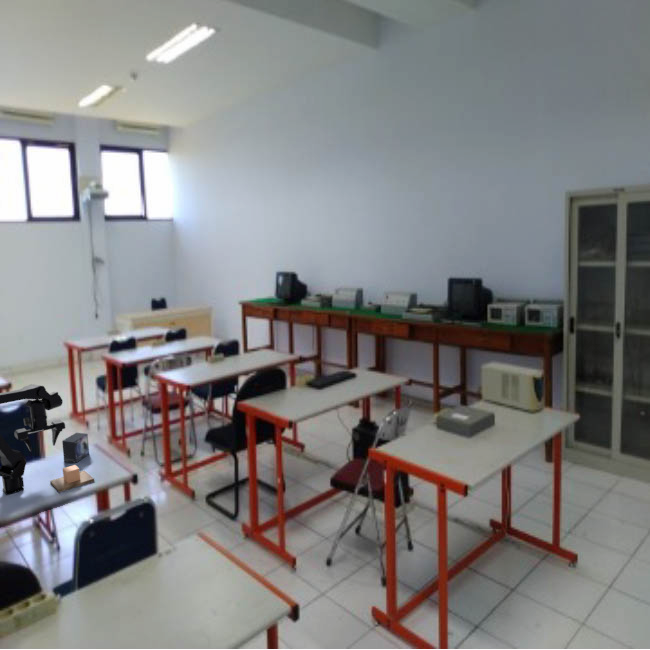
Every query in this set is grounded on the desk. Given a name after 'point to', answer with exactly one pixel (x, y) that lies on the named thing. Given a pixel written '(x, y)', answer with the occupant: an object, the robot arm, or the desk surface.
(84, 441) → the small box
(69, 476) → the terracotta cube
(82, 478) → the walnut board
